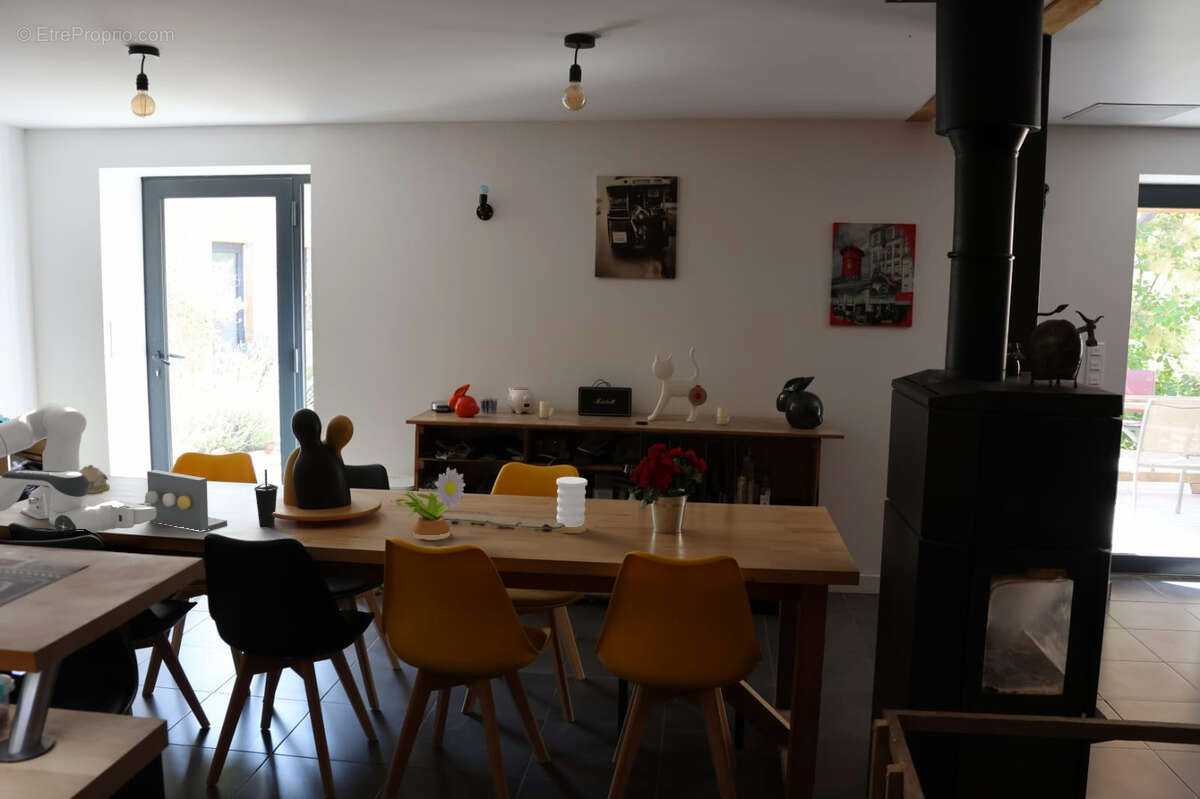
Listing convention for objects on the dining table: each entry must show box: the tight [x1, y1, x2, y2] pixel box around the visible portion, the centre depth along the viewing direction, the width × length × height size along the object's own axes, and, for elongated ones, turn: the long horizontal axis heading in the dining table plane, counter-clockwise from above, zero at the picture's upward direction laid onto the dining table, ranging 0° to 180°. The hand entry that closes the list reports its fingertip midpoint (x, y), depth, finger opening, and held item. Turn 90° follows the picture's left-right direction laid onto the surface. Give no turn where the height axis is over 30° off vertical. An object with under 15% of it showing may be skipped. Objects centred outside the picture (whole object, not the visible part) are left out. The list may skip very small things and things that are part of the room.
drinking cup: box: [253, 468, 279, 528], centre depth 303 cm, size 8×8×20 cm
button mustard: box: [177, 495, 192, 509], centre depth 294 cm, size 4×2×4 cm, turn 66°
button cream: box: [163, 493, 177, 507], centre depth 297 cm, size 4×2×4 cm, turn 66°
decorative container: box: [556, 476, 588, 527], centre depth 311 cm, size 12×12×18 cm
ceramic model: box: [80, 464, 111, 494], centre depth 346 cm, size 14×11×10 cm
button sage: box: [144, 491, 159, 505], centre depth 299 cm, size 4×2×4 cm, turn 65°
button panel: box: [146, 469, 228, 531], centre depth 303 cm, size 25×11×18 cm, turn 65°
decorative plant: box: [390, 467, 466, 535], centre depth 300 cm, size 27×24×25 cm
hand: (147, 505), depth 291 cm, fingers closed
